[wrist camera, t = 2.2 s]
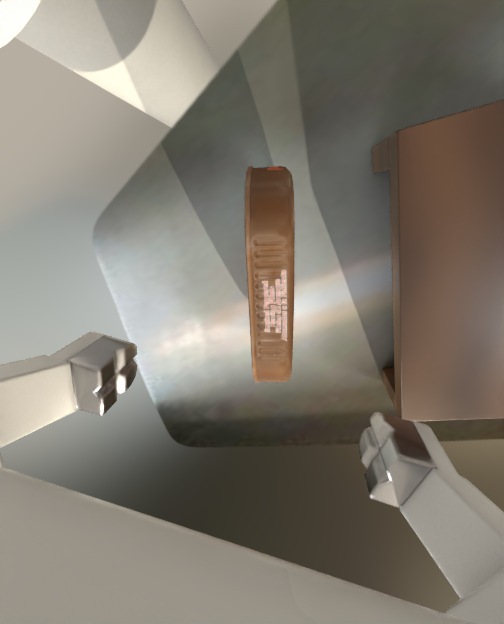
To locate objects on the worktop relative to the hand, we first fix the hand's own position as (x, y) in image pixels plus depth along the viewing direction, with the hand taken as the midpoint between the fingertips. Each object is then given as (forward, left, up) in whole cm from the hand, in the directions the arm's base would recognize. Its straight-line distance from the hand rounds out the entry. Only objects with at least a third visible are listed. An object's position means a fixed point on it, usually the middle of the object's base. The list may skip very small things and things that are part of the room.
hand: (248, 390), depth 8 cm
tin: (0, 0, -15) cm, 15 cm away
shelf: (+13, +3, -15) cm, 20 cm away
